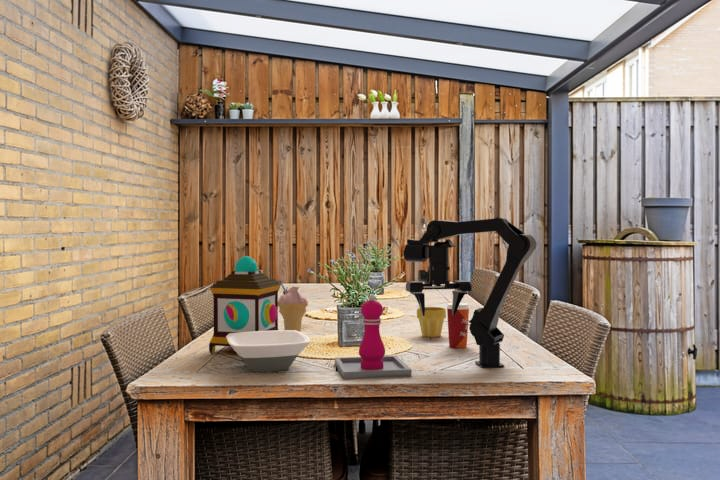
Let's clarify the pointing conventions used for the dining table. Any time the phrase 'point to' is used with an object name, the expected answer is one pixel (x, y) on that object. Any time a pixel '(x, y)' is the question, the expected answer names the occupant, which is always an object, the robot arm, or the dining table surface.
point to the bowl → (268, 348)
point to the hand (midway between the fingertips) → (438, 315)
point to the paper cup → (458, 325)
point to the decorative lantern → (244, 302)
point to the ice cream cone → (292, 308)
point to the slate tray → (353, 370)
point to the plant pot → (431, 321)
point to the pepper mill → (371, 336)
